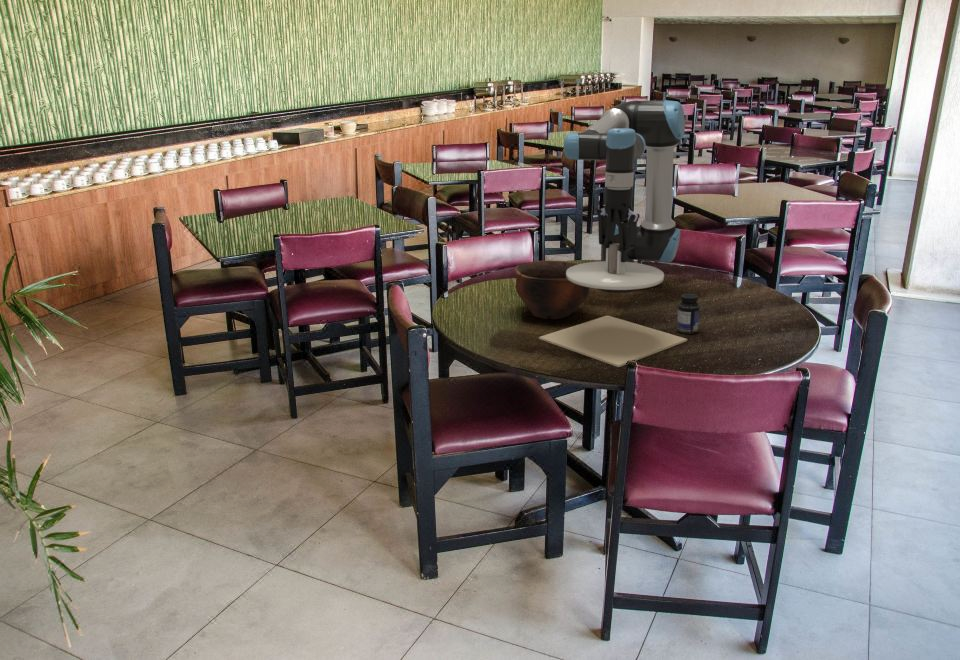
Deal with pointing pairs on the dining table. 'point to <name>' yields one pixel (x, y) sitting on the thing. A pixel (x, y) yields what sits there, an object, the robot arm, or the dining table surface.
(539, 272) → the bowl
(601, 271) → the lid
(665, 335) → the mat
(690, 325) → the pill bottle
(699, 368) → the dining table surface
